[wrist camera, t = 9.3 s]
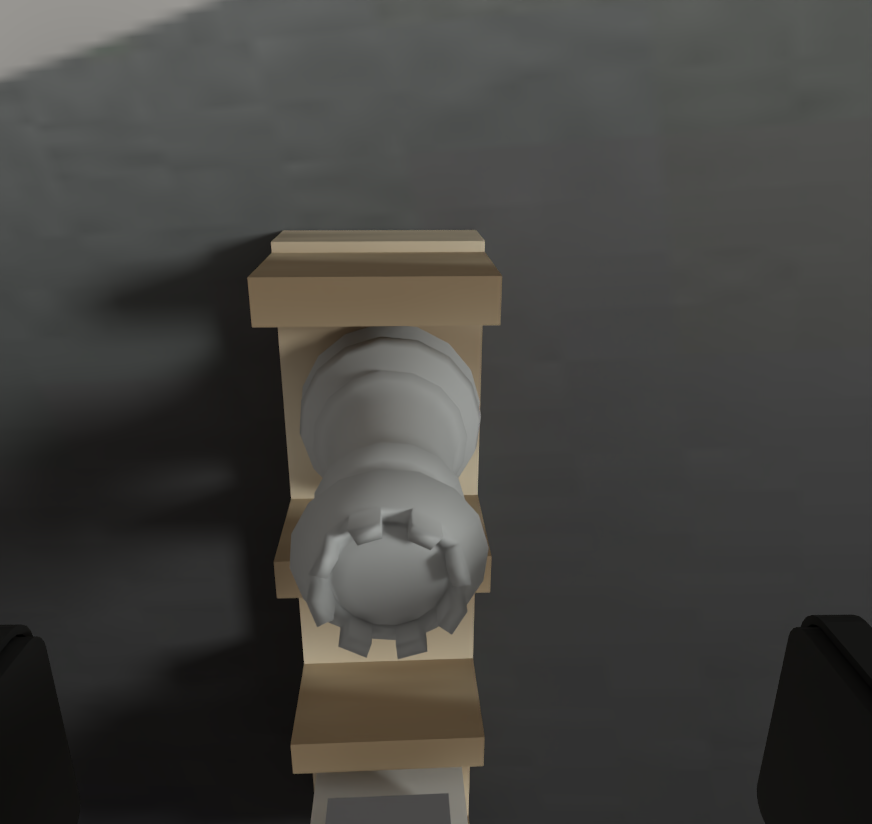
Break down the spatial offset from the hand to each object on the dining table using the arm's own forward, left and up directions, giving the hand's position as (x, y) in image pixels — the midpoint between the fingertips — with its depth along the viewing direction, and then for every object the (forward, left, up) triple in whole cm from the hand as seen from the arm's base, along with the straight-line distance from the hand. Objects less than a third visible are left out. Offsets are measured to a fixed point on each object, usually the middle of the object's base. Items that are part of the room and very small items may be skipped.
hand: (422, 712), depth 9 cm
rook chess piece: (0, 0, -10) cm, 10 cm away
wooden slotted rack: (-6, +1, -12) cm, 13 cm away
